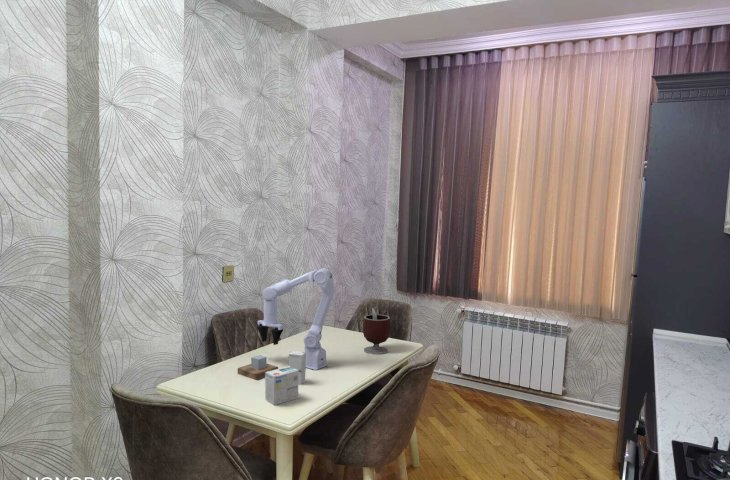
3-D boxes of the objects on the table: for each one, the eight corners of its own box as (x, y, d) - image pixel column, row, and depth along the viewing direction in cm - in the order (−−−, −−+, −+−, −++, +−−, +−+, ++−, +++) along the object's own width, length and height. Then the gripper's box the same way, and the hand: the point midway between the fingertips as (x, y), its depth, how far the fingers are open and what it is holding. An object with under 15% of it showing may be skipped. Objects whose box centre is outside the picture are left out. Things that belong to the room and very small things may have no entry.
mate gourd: (393, 354, 234) (394, 314, 232) (366, 355, 230) (367, 314, 229) (384, 345, 249) (385, 307, 247) (358, 346, 245) (359, 308, 244)
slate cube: (266, 367, 203) (266, 357, 202) (258, 370, 199) (258, 359, 199) (259, 365, 205) (259, 354, 205) (251, 367, 202) (251, 357, 202)
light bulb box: (288, 392, 182) (289, 365, 181) (299, 398, 177) (299, 369, 176) (264, 400, 174) (264, 371, 174) (274, 405, 169) (274, 376, 169)
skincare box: (287, 383, 192) (287, 353, 191) (292, 379, 196) (292, 350, 195) (301, 385, 190) (301, 355, 189) (306, 381, 194) (306, 352, 193)
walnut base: (278, 373, 204) (278, 366, 204) (256, 381, 194) (256, 374, 194) (259, 367, 211) (259, 361, 211) (237, 375, 201) (237, 368, 201)
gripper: (252, 312, 215) (252, 341, 216) (274, 317, 207) (274, 347, 208) (264, 309, 221) (264, 338, 222) (286, 314, 212) (286, 344, 213)
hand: (269, 342), depth 215 cm, fingers open, 7 cm apart
